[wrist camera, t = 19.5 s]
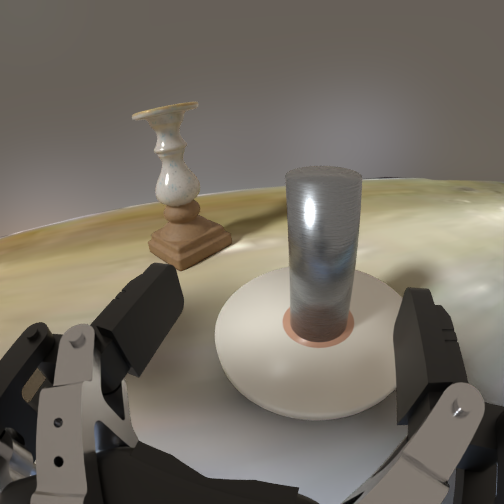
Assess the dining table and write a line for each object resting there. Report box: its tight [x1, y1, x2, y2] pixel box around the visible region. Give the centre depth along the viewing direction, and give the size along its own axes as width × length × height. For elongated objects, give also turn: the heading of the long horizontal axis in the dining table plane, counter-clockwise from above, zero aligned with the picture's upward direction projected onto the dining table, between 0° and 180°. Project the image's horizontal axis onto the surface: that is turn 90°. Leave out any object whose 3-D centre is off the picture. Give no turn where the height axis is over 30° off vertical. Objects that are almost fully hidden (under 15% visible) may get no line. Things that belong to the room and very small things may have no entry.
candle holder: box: [132, 102, 232, 271], centre depth 42 cm, size 11×11×24 cm
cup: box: [285, 166, 362, 342], centre depth 22 cm, size 6×6×14 cm
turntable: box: [215, 267, 402, 421], centre depth 26 cm, size 20×20×2 cm
